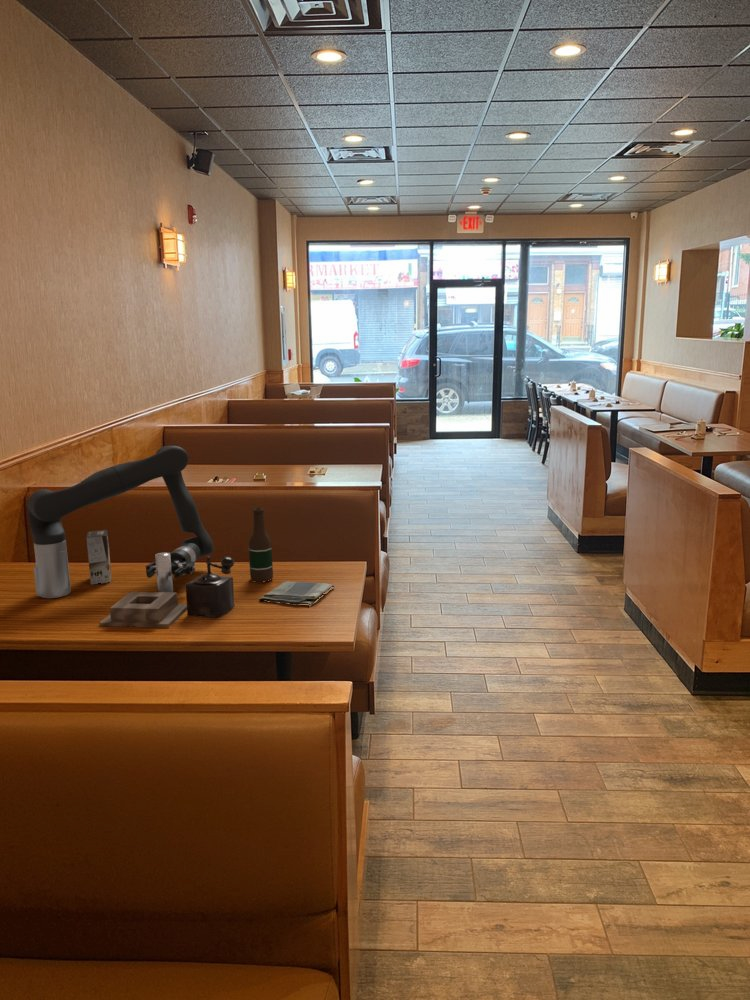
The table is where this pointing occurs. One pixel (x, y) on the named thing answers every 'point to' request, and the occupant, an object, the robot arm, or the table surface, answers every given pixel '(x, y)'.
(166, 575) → the pin
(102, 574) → the coffee box
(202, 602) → the dark manual coffee grinder
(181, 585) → the table surface
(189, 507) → the robot arm
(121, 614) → the socket block
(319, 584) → the dish towel
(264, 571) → the beer bottle
